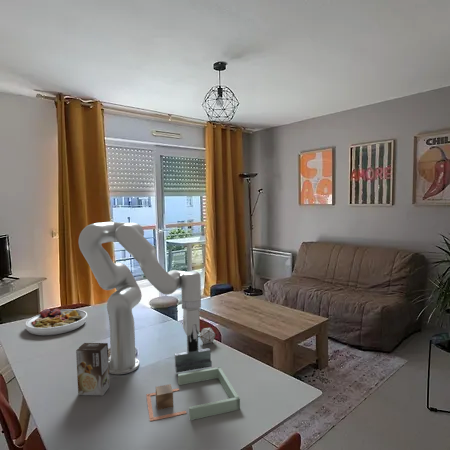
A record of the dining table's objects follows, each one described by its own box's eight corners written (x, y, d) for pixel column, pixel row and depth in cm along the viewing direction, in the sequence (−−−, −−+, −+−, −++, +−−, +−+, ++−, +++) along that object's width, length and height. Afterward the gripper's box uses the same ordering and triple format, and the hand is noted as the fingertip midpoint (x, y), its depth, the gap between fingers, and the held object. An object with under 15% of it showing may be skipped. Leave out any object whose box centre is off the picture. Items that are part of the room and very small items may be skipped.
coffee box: (110, 385, 115) (109, 342, 115) (102, 396, 109) (101, 350, 108) (85, 385, 116) (84, 342, 115) (76, 395, 109) (75, 350, 109)
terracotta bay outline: (149, 421, 96) (149, 420, 96) (146, 394, 109) (146, 394, 109) (186, 413, 99) (186, 412, 99) (178, 388, 113) (178, 388, 113)
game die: (210, 352, 149) (213, 341, 143) (194, 345, 150) (196, 333, 144) (217, 337, 156) (220, 326, 150) (201, 330, 157) (204, 318, 151)
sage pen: (190, 420, 96) (189, 409, 96) (178, 383, 116) (177, 374, 116) (240, 409, 101) (239, 398, 101) (220, 375, 121) (220, 366, 121)
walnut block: (157, 410, 101) (157, 395, 101) (155, 401, 106) (155, 386, 106) (173, 407, 103) (172, 392, 102) (170, 398, 108) (170, 384, 107)
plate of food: (99, 323, 179) (98, 309, 179) (46, 342, 154) (45, 326, 153) (67, 314, 195) (66, 301, 194) (14, 330, 169) (13, 316, 169)
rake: (211, 366, 125) (211, 334, 125) (176, 372, 121) (175, 339, 120) (209, 362, 129) (208, 330, 128) (174, 367, 125) (174, 335, 124)
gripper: (178, 298, 130) (179, 342, 132) (185, 310, 115) (186, 360, 116) (196, 297, 133) (196, 340, 134) (205, 308, 118) (206, 357, 119)
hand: (192, 349), depth 125 cm, fingers closed on rake, 2 cm apart
